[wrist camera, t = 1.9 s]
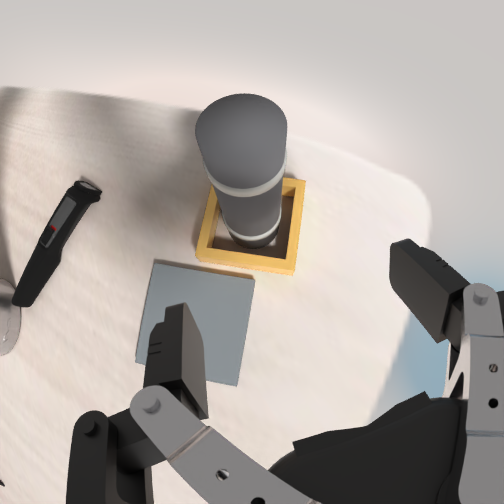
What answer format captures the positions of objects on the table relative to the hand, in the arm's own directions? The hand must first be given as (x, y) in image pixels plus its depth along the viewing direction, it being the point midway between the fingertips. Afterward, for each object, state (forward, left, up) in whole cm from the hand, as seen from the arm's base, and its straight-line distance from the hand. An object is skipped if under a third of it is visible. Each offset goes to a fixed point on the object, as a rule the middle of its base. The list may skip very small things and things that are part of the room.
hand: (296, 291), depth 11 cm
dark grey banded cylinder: (-4, +8, -15) cm, 17 cm away
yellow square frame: (-4, +8, -15) cm, 17 cm away
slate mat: (-7, -2, -15) cm, 16 cm away
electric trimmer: (-24, +3, -15) cm, 28 cm away
